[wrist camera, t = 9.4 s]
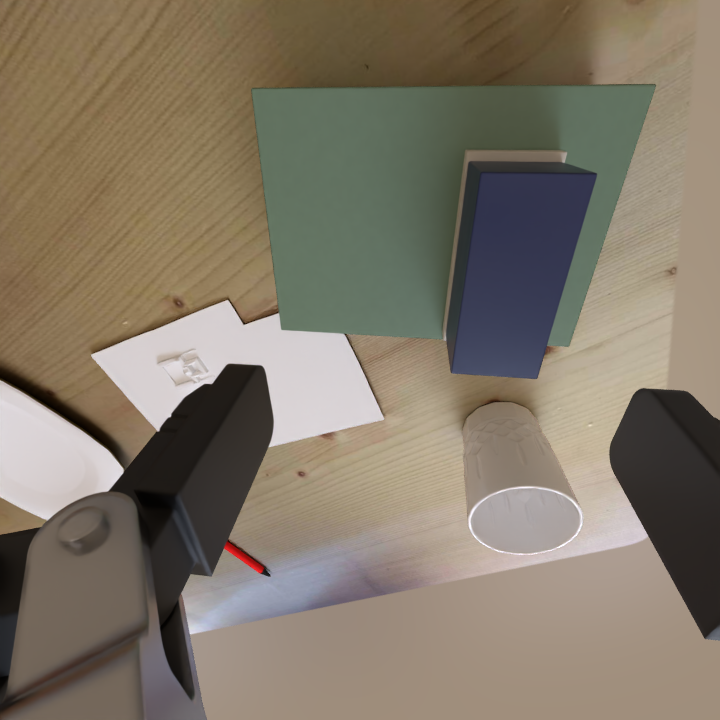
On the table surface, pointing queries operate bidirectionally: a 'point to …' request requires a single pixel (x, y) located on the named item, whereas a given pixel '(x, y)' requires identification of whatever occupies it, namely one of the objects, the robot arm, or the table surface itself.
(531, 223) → the navy block
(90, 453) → the plate
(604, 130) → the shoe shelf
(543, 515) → the white cup
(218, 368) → the paper
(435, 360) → the table surface
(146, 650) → the robot arm
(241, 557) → the pen
